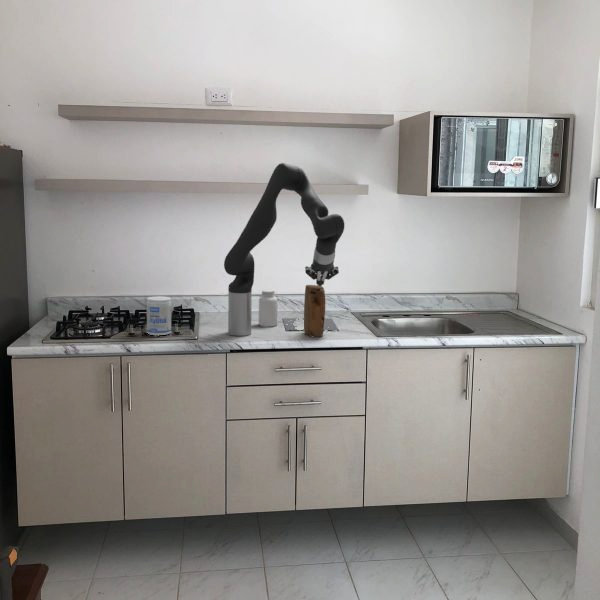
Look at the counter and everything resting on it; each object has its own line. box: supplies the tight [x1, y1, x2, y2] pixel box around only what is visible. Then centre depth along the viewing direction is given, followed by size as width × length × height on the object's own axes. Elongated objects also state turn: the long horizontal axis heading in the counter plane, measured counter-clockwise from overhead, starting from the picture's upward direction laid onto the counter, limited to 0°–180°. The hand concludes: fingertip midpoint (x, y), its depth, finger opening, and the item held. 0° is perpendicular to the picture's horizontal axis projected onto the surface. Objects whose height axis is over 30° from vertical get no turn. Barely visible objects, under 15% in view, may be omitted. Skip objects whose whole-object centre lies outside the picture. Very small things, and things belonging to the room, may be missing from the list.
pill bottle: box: [258, 289, 278, 328], centre depth 316 cm, size 8×8×15 cm
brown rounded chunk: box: [303, 284, 326, 338], centre depth 299 cm, size 11×8×20 cm
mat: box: [282, 317, 340, 332], centre depth 319 cm, size 22×24×1 cm
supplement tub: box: [146, 295, 172, 336], centre depth 295 cm, size 10×10×15 cm
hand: (319, 283), depth 282 cm, fingers closed
